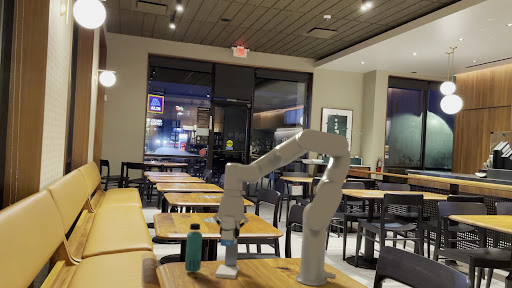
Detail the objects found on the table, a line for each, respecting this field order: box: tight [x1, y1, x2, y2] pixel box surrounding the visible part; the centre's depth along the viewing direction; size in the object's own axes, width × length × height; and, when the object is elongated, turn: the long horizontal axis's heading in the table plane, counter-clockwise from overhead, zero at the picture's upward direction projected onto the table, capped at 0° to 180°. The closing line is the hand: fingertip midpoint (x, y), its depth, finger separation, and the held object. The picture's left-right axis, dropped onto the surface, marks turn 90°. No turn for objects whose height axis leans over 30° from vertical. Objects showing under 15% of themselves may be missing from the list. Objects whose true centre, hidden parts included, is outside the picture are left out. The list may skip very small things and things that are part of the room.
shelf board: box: [214, 264, 240, 280], centre depth 162 cm, size 8×12×2 cm
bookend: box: [224, 242, 239, 267], centre depth 167 cm, size 5×1×10 cm, turn 85°
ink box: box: [220, 216, 238, 247], centre depth 161 cm, size 8×5×12 cm, turn 169°
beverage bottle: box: [184, 223, 203, 273], centre depth 160 cm, size 6×7×20 cm
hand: (229, 236), depth 161 cm, fingers closed on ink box, 5 cm apart
